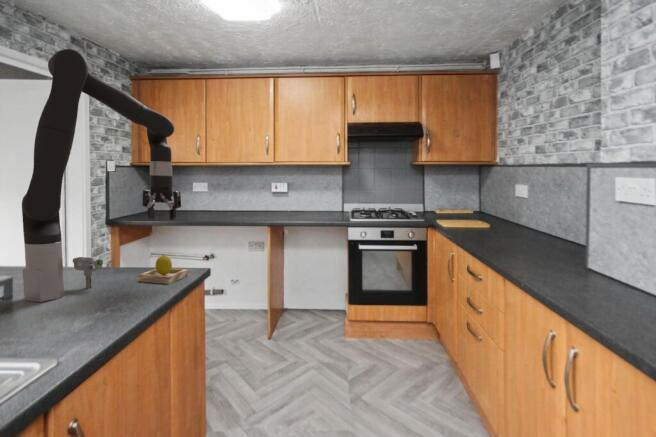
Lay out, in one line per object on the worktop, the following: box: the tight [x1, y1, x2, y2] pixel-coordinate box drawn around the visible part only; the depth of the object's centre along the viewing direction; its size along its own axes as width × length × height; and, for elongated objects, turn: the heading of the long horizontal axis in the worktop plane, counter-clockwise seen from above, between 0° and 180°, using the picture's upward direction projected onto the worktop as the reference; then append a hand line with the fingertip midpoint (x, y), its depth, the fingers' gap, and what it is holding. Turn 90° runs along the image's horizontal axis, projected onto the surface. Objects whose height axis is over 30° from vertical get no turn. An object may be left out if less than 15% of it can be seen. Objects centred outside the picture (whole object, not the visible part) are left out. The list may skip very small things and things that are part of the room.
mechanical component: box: [72, 256, 104, 289], centre depth 132 cm, size 3×10×10 cm, turn 79°
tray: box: [138, 267, 189, 285], centre depth 147 cm, size 12×12×2 cm
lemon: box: [155, 254, 173, 276], centre depth 146 cm, size 6×6×8 cm
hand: (162, 219), depth 145 cm, fingers open, 8 cm apart
